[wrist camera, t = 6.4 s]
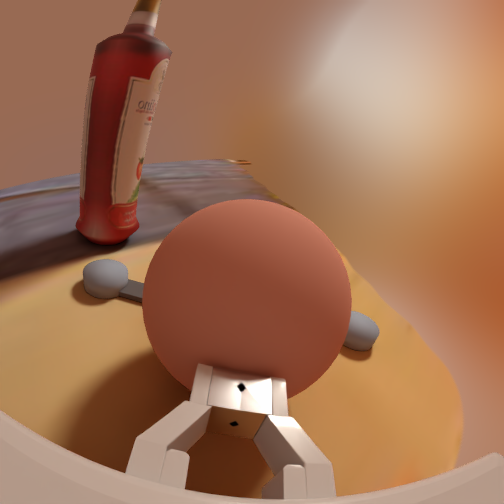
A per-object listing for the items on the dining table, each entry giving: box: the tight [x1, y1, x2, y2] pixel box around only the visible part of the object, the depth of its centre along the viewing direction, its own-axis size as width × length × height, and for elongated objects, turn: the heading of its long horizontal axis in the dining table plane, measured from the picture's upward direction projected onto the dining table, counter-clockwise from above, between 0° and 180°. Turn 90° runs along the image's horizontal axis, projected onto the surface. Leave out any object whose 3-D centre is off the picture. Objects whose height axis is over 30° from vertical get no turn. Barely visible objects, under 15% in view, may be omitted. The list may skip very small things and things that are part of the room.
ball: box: [142, 199, 352, 399], centre depth 14 cm, size 10×10×10 cm
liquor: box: [76, 0, 172, 245], centre depth 21 cm, size 7×7×28 cm
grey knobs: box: [83, 259, 379, 351], centre depth 20 cm, size 24×4×1 cm, turn 89°
